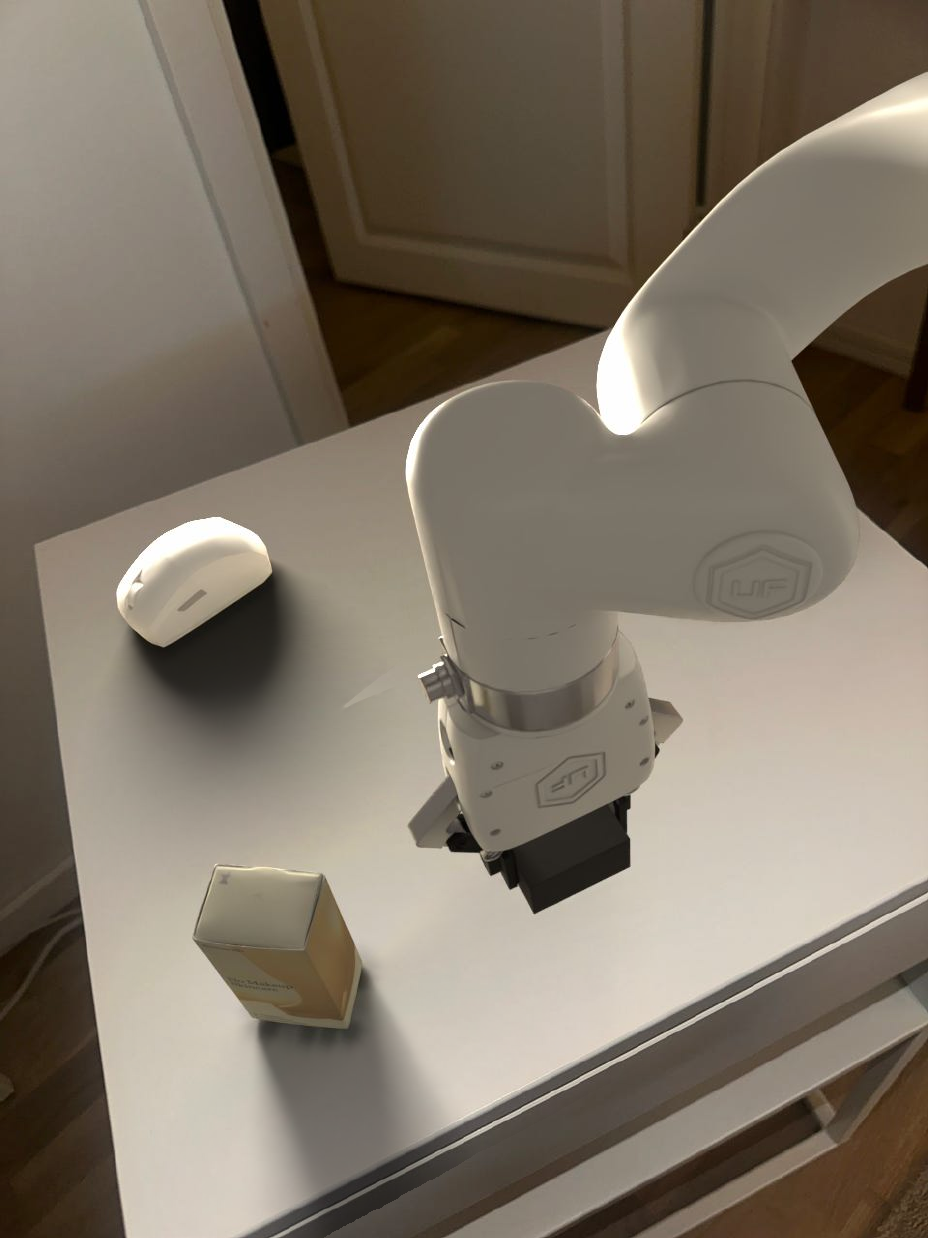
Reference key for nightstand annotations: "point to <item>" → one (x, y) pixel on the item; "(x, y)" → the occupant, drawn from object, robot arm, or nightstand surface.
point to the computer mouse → (190, 578)
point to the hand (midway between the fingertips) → (556, 839)
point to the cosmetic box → (280, 944)
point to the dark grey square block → (572, 858)
